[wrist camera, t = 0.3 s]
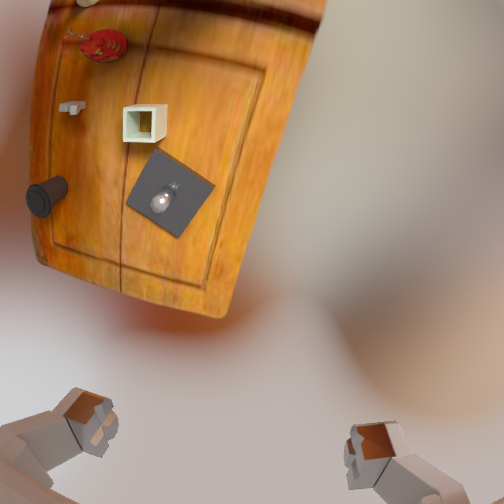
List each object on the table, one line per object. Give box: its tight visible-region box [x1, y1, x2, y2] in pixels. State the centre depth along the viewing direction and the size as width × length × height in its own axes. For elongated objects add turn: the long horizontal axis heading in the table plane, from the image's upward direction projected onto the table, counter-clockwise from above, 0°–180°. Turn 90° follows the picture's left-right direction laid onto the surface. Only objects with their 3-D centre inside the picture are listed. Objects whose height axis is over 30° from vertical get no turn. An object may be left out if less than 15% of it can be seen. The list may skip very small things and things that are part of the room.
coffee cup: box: [26, 176, 68, 218], centre depth 55 cm, size 8×8×10 cm
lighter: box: [59, 101, 86, 115], centre depth 46 cm, size 7×2×8 cm, turn 79°
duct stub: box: [126, 147, 215, 238], centre depth 56 cm, size 14×14×6 cm
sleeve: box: [123, 104, 168, 143], centre depth 48 cm, size 6×6×6 cm
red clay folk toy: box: [64, 29, 128, 63], centre depth 36 cm, size 8×7×15 cm
